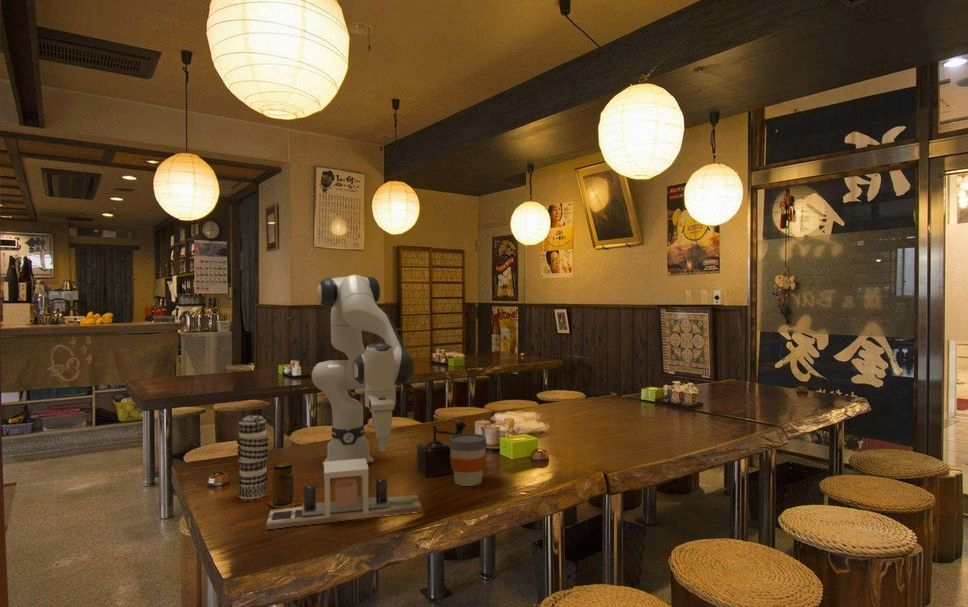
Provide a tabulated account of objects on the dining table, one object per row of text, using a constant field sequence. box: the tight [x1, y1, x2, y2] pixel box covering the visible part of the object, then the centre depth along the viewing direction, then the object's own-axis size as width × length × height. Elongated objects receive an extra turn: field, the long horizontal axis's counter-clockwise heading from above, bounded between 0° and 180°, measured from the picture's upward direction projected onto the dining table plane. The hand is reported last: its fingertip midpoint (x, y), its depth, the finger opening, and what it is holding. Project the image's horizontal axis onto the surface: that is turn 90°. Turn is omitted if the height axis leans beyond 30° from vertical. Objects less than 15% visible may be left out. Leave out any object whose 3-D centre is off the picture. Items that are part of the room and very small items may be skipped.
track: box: [265, 494, 423, 531], centre depth 159 cm, size 11×42×2 cm, turn 105°
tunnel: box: [323, 458, 370, 518], centre depth 159 cm, size 11×12×12 cm
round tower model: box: [236, 414, 269, 500], centre depth 175 cm, size 9×9×25 cm
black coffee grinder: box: [416, 420, 467, 478], centre depth 198 cm, size 16×11×18 cm
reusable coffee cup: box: [448, 433, 487, 486], centre depth 185 cm, size 12×13×15 cm
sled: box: [302, 477, 390, 516], centre depth 159 cm, size 7×24×7 cm, turn 105°
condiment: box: [271, 462, 295, 506], centre depth 167 cm, size 7×8×12 cm
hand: (380, 446), depth 162 cm, fingers open, 8 cm apart
